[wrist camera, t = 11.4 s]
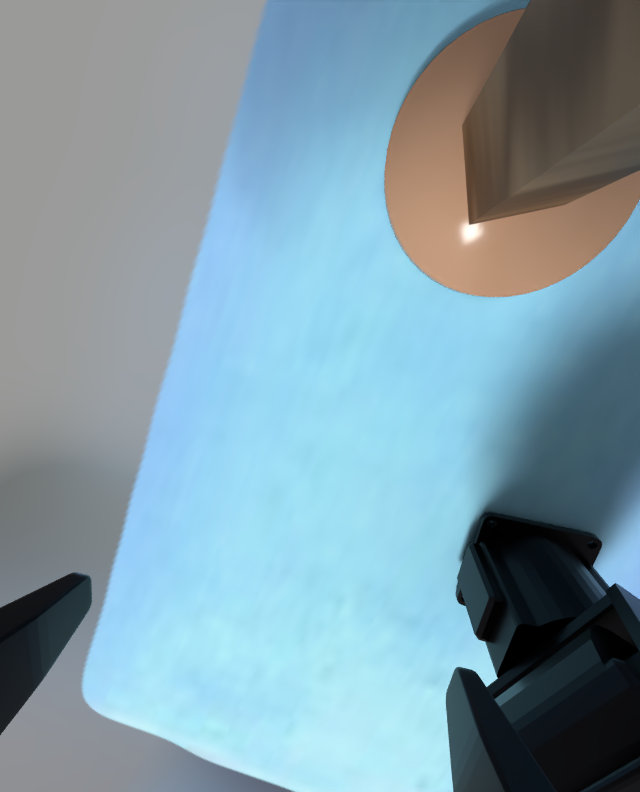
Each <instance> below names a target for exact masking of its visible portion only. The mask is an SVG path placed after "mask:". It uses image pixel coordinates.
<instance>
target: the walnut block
mask: <svg viewBox="0 0 640 792" xmlns="http://www.w3.org/2000/svg"><path fill="white" fill-rule="evenodd" d="M462 132H463V146H464V160H465V175H466V189H467V203H468V217H469V225H472V224H477V223H481V222H486V221H491V220H496V219H500V218H505V217H510V216H515V215H519V214H524V213H529V212H534V211H539V210H543V209H548V208H553V207H558V206H562V205H566V204H568V203H570V202H572V201H574V200H577V199H579V198H581V197H583V196H585V195H587V194H589V193H592V192H594V191H596V190H598V189H600V188H602V187H605V186H607V185H609V184H611V183H613V182H615V181H618V180H620V179H622V178H624V177H626V176H628V175H631V174H633V173H635V172H637V171H639V170H640V0H530V2H529V4H528V6H527V7H526V9H525V11H524V13H523V15H522V17H521V18H520V20H519V22H518V24H517V26H516V28H515V29H514V31H513V33H512V35H511V37H510V39H509V41H508V42H507V44H506V46H505V48H504V50H503V52H502V53H501V55H500V57H499V59H498V61H497V63H496V64H495V66H494V68H493V70H492V72H491V74H490V75H489V77H488V79H487V81H486V83H485V85H484V86H483V88H482V90H481V92H480V94H479V96H478V97H477V99H476V101H475V103H474V105H473V107H472V108H471V110H470V112H469V114H468V116H467V118H466V119H465V121H464V123H463V125H462Z"/></svg>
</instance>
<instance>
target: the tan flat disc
mask: <svg viewBox="0 0 640 792" xmlns="http://www.w3.org/2000/svg"><path fill="white" fill-rule="evenodd" d="M525 9H526V8H524V9H518V10H514V11H511V12H507V13H504V14H500V15H498V16H495V17H493V18H491V19H489V20H486V21H484V22H482V23H480V24H478V25H476V26H475V27H473V28H471V29H470V30H468V31H467V32H465V33H463V34H462V35H461V36H459V37H458V38H457V39H455V40H454V41H453V42H452V43H450V44H449V45H448V46H446V47H445V48H444V49H443V50H442V51H441V52H440V53H439V54H438V55H437V56H436V57H435V58H434V59H433V60H432V61H431V63H430V64H429V65H428V66H427V67H426V69H425V70H424V71H423V72H422V74H421V75H420V76H419V77H418V79H417V81H416V82H415V84H414V85H413V87H412V88H411V90H410V92H409V93H408V95H407V97H406V99H405V101H404V103H403V105H402V107H401V109H400V111H399V113H398V116H397V118H396V121H395V124H394V127H393V129H392V133H391V137H390V141H389V145H388V149H387V157H386V165H385V173H384V192H385V201H386V208H387V212H388V217H389V221H390V224H391V226H392V229H393V232H394V234H395V237H396V239H397V240H398V242H399V244H400V246H401V248H402V250H403V251H404V252H405V254H406V255H407V256H408V258H409V259H410V260H411V262H412V263H413V264H414V265H415V266H416V267H417V268H418V269H419V270H420V271H421V272H423V273H424V274H425V275H426V276H428V277H429V278H430V279H432V280H433V281H435V282H437V283H439V284H440V285H442V286H444V287H446V288H449V289H451V290H454V291H457V292H460V293H464V294H468V295H473V296H483V297H507V296H515V295H521V294H526V293H530V292H533V291H537V290H540V289H543V288H545V287H548V286H550V285H552V284H555V283H557V282H559V281H561V280H563V279H564V278H566V277H568V276H570V275H572V274H573V273H575V272H576V271H578V270H579V269H581V268H582V267H583V266H585V265H586V264H588V263H589V262H590V261H591V260H592V259H593V258H595V257H596V256H597V255H598V254H599V253H600V252H601V251H602V250H604V248H605V247H606V246H607V245H608V244H609V243H610V242H611V241H612V240H613V239H614V237H615V236H616V235H617V234H618V232H619V231H620V230H621V228H622V227H623V226H624V224H625V223H626V222H627V220H628V219H629V217H630V215H631V214H632V212H633V210H634V208H635V207H636V205H637V203H638V201H639V199H640V170H639V171H637V172H635V173H633V174H631V175H628V176H626V177H624V178H622V179H620V180H618V181H615V182H613V183H611V184H609V185H607V186H605V187H602V188H600V189H598V190H596V191H594V192H592V193H589V194H587V195H585V196H583V197H581V198H579V199H577V200H574V201H572V202H570V203H568V204H566V205H562V206H558V207H553V208H548V209H543V210H539V211H534V212H529V213H524V214H519V215H515V216H510V217H505V218H500V219H496V220H491V221H486V222H481V223H477V224H472V225H469V217H468V203H467V189H466V175H465V160H464V146H463V132H462V125H463V123H464V121H465V119H466V118H467V116H468V114H469V112H470V110H471V108H472V107H473V105H474V103H475V101H476V99H477V97H478V96H479V94H480V92H481V90H482V88H483V86H484V85H485V83H486V81H487V79H488V77H489V75H490V74H491V72H492V70H493V68H494V66H495V64H496V63H497V61H498V59H499V57H500V55H501V53H502V52H503V50H504V48H505V46H506V44H507V42H508V41H509V39H510V37H511V35H512V33H513V31H514V29H515V28H516V26H517V24H518V22H519V20H520V18H521V17H522V15H523V13H524V11H525Z"/></svg>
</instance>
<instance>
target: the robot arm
mask: <svg viewBox="0 0 640 792" xmlns="http://www.w3.org/2000/svg"><path fill="white" fill-rule="evenodd" d="M490 520H494V522H493V523H488V521H490ZM591 541H593V542H592V543H591V544H588V543H589V542H591ZM601 547H602V543H601V541H600V540H599V539H598V538H597V537H596V536H595V535H594V534H592V533H588V532H583V531H578V530H573V529H569V528H564V527H559V526H554V525H550V524H545V523H540V522H535V521H531V520H526V519H521V518H516V517H512V516H507V515H502V514H498V513H493V512H488V513H485V514H484V515H482V517H481V519H480V522H479V525H478V528H477V531H476V534H475V537H474V540H473V543H471V544H469V545H468V547H467V550H466V553H465V556H464V559H463V562H462V565H461V568H460V571H459V574H458V577H457V579H458V582H459V584H458V587H457V590H456V597H457V600H458V602H459V603H460V604H461V605H464V606H466V608H467V611H468V615H469V618H470V621H471V624H472V627H473V631H474V634H475V635H476V637H477V638H478V640H482V641H485V642H486V645H487V648H488V651H489V654H490V657H491V660H492V663H493V666H494V669H495V672H496V675H497V677H498V679H497V680H495V681H494V682H493V683H491V684H490V685H489V686H488V687H486V686H485V684H484V683H483V681H482V680H481V678H480V677H479V676H478V674H477V673H476V672H475V671H473V670H470V669H466V668H462V667H457V668H456V669H455V670H454V673H453V675H452V678H451V681H450V684H449V686H448V689H447V693H446V711H447V723H448V735H449V747H450V758H451V770H452V781H453V791H454V792H640V599H638V598H637V597H635V596H634V595H632V594H631V593H630V592H628V591H627V590H625V589H624V588H622V587H621V586H619V585H618V584H616V583H615V584H614V585H612V586H611V587H609V586H608V585H607V583H606V582H605V581H604V580H603V578H602V577H601V576H600V575H599V574H598V572H597V571H596V570H595V569H594V568H593V564H594V562H595V560H596V558H597V556H598V554H599V551H600V549H601ZM91 589H92V588H91V578H90V576H88V575H85V574H81V573H71V574H68V575H66V576H65V577H62V578H60V579H58V580H56V581H54V582H52V583H50V584H48V585H46V586H44V587H42V588H40V589H38V590H36V591H34V592H32V593H30V594H27V595H25V596H23V597H21V598H19V599H17V600H15V601H13V602H11V603H9V604H7V605H5V606H3V607H1V608H0V735H1V733H2V732H3V731H4V730H5V728H6V727H7V726H8V724H9V723H10V722H11V721H12V719H13V718H14V717H15V715H16V714H17V713H18V712H19V710H20V709H21V708H22V706H23V705H24V704H25V702H26V701H27V700H28V698H29V697H30V696H31V695H32V693H33V692H34V691H35V689H36V688H37V687H38V686H39V684H40V683H41V681H42V680H43V679H44V677H45V676H46V674H47V673H48V672H49V670H50V669H51V667H52V666H53V664H54V663H55V661H56V660H57V658H58V656H59V655H60V654H61V652H62V650H63V649H64V647H65V646H66V644H67V643H68V641H69V640H70V638H71V637H72V635H73V634H74V632H75V631H76V629H77V628H78V626H79V625H80V623H81V621H82V620H83V618H84V617H85V615H86V614H87V612H88V611H89V609H90V606H91V602H92V590H91ZM462 596H463V597H462Z"/></svg>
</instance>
